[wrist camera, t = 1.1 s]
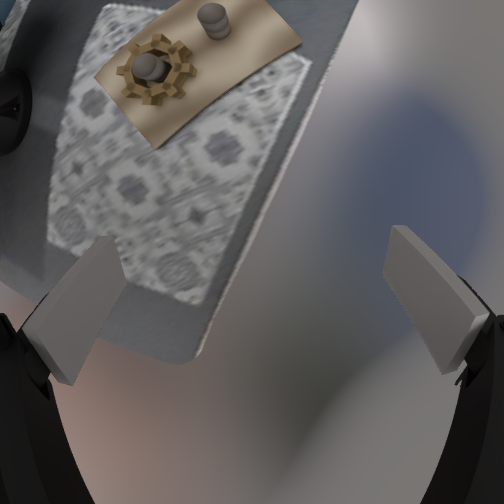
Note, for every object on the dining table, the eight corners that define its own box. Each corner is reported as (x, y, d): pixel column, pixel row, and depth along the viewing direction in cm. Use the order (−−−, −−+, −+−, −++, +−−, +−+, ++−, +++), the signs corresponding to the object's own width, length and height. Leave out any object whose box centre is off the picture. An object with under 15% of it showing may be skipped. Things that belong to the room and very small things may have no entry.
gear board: (99, 77, 26) (61, 73, 19) (231, -25, 20) (226, -58, 12) (158, 148, 32) (131, 160, 24) (300, 45, 26) (316, 24, 18)
